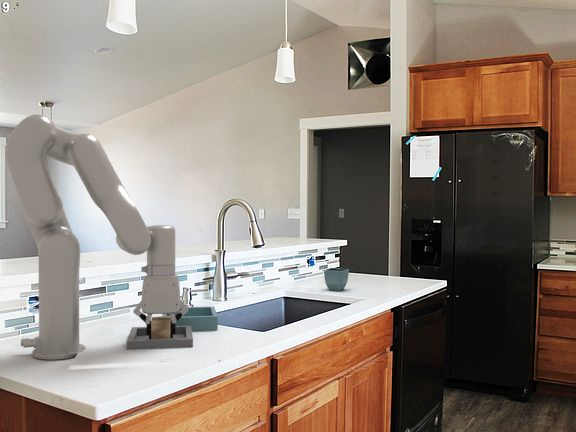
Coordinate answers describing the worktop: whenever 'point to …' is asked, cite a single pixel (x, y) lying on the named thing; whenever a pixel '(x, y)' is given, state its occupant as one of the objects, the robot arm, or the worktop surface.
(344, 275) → the flower pot
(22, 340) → the robot arm
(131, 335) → the bin
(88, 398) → the worktop surface
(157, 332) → the oak block
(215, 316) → the tray
